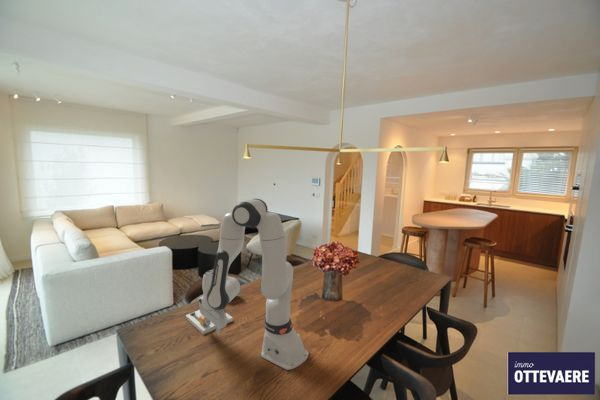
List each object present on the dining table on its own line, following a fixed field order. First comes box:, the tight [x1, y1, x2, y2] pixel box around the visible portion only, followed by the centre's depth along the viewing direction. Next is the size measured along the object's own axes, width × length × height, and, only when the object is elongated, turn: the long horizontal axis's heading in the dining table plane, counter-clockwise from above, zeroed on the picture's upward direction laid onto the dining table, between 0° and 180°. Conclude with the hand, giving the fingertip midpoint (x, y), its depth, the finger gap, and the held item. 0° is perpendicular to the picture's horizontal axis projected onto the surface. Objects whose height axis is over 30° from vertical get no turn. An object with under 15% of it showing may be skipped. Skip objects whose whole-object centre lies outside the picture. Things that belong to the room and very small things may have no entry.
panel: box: [185, 309, 234, 336], centre depth 144 cm, size 20×17×6 cm
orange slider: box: [199, 315, 206, 326], centre depth 137 cm, size 4×2×4 cm, turn 47°
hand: (212, 328), depth 130 cm, fingers open, 8 cm apart
